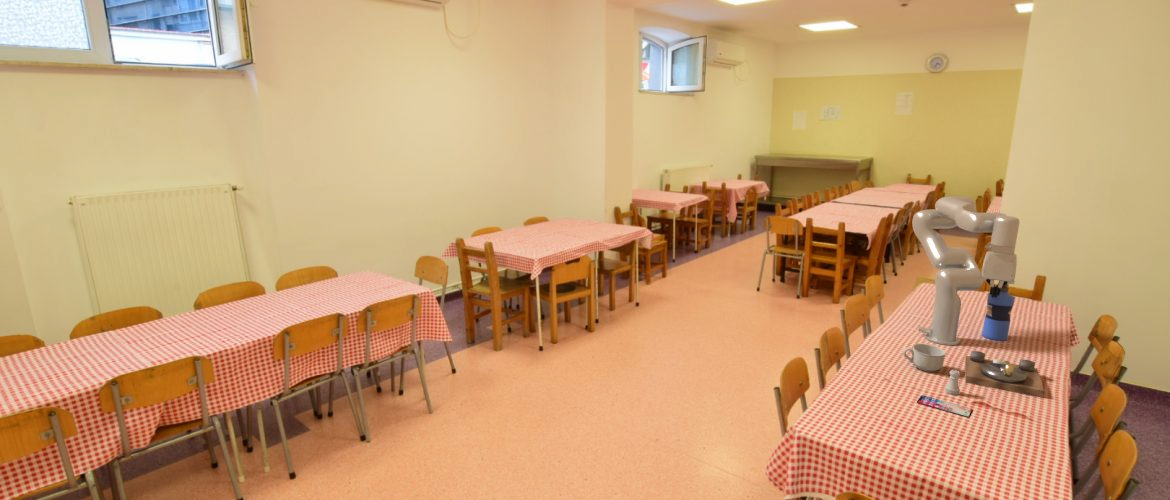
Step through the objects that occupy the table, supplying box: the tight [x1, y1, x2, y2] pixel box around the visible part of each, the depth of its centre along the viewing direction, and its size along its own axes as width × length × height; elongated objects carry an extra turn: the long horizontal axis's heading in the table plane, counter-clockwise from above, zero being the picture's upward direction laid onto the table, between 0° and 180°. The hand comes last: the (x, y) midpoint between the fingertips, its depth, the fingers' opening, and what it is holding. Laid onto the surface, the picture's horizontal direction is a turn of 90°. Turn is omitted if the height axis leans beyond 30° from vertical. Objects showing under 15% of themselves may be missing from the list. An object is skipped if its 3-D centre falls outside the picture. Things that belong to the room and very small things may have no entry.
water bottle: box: [981, 284, 1016, 342], centre depth 245 cm, size 9×9×25 cm
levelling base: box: [964, 350, 1045, 399], centre depth 207 cm, size 22×22×6 cm
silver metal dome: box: [981, 363, 1027, 384], centre depth 203 cm, size 13×13×6 cm
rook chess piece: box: [944, 369, 961, 396], centre depth 196 cm, size 4×4×8 cm
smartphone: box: [916, 395, 974, 418], centre depth 187 cm, size 8×1×15 cm
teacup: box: [902, 343, 946, 373], centre depth 216 cm, size 14×11×8 cm
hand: (994, 296), depth 215 cm, fingers closed
